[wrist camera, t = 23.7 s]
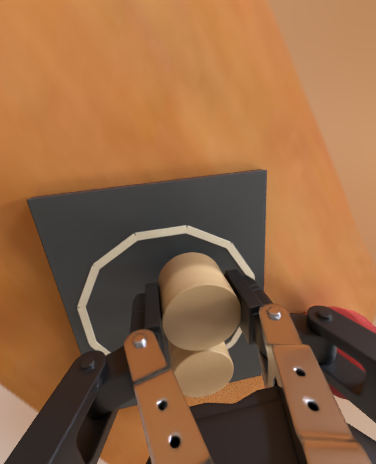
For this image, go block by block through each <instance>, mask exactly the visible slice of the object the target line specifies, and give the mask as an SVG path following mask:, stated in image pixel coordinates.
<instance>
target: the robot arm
mask: <svg viewBox="0 0 376 464" xmlns="http://www.w3.org/2000/svg"><path fill="white" fill-rule="evenodd" d="M224 276H225V278H226V280H227V281H228V283H229V285H230V286H231V288H232V289H233V291H234V293H235V294H236V296H237V298H238V299H239V302H240V306H241V318H240V322H239V324H238V325H239V327H240V329H241V330H242V332H243V334H244V336H245V338H246V340H247V342H248V344H249V345H253V344H256V345H257V347H258V357H259V362H260V366H261V371H262V376H263V381H264V385H265V389H261V390H257V391H255V392H254V393H252V394H250V395H249V396H247V397H245V398H243V399H242V400H240V401H238V402H237V403H234V404H224V403H203V404H199V405H195V406H191V407H189V406H188V404H187V401H186V399H185V397H184V395H183V392H182V390H181V388H180V386H179V383H178V381H177V379H176V377H175V374H174V372H173V370H172V368H171V366H168V365H167V353H166V342H165V334H164V332H163V327H162V320H161V308H160V297H159V286H158V282H154V283H149V284H145V293H142V294H137V295H136V297H135V298H134V300H133V305H132V316H131V326H130V334H129V335H128V336H127V338H126V339H125V342H124V345H123V346H122V347H121V348H119V349H117V350H116V351H114V352H111V353H109V354H107V355H105V354H104V353H103V352H102V351H99V350H93V351H89V352H86V353H84V354H83V355H81V356H80V357H79V358H77V359H76V360H75V362H74V363H73V364H72V366H71V367H70V369H69V370H68V372H67V373H66V374H65V376H64V377H63V379H62V380H61V382H60V383H59V385H58V386H57V387H56V389H55V390H54V392H53V393H52V395H51V396H50V398H49V399H48V400H47V402H46V403H45V405H44V406H43V408H42V409H41V411H40V412H39V414H38V415H37V417H36V418H35V419H34V421H33V422H32V424H31V425H30V427H29V428H28V429H27V431H26V432H25V434H24V435H23V437H22V438H21V440H20V441H19V442H18V444H17V445H16V447H15V448H14V450H13V451H12V453H11V454H10V456H9V457H8V459H7V460H6V461H5V463H4V464H97V462H98V459H99V457H100V454H101V452H102V449H103V447H104V445H105V442H106V440H107V437H108V435H109V432H110V430H111V427H112V425H113V422H114V420H115V417H116V415H117V412H118V410H119V407H120V406H122V405H123V404H125V403H127V402H129V401H130V400H132V399H134V398H135V397H136V400H137V404H138V408H139V412H140V417H141V421H142V425H143V429H144V433H145V437H146V442H147V446H148V450H149V454H150V456H149V458H148V460H147V462H146V464H376V441H375V440H373V439H371V438H370V437H368V436H366V435H365V434H363V433H362V432H360V431H359V430H357V429H356V428H354V427H353V426H351V425H350V424H348V423H346V421H345V419H344V416H343V414H342V412H341V410H340V408H339V406H338V404H337V402H336V400H335V398H334V396H333V393H332V391H331V389H330V387H329V385H328V383H329V384H330V385H331V386H333V387H334V388H335V389H336V390H337V391H338V392H340V393H341V394H342V395H343V396H344V397H346V398H347V399H348V400H349V401H350V402H352V403H353V404H354V405H355V406H356V407H357V408H359V409H360V410H361V411H362V412H363V413H365V414H366V415H367V416H368V417H369V418H370V419H372V420H373V421H374V422H375V423H376V333H374V332H372V331H370V330H369V329H367V328H365V327H363V326H362V325H360V324H358V323H356V322H354V321H353V320H351V319H349V318H347V317H345V316H344V315H342V314H340V313H338V312H337V311H335V310H333V309H331V308H328V307H325V306H313V307H310V308H309V309H308V311H307V315H303V314H290V313H289V312H288V311H287V310H286V309H285V308H284V307H282V306H280V305H276V304H273V303H272V301H271V300H270V299H269V298H268V296H267V295H266V294H265V293H264V291H263V290H261V288H260V286H259V285H258V284H257V283H256V281H255V280H254V279H253V278H251V277H249V276H247V275H244V276H242V275H241V274H240V272H239V271H238V270H237V269H230V270H225V271H224ZM337 348H339V349H340V350H342V351H343V352H345V353H346V354H348V355H349V356H350V357H352V358H353V359H355V360H356V361H358V362H359V363H360V364H361V365H362V366H363V368H364V369H365V372H364V371H363V370H362V369H360V368H359V367H357V366H356V365H354V364H353V363H352V362H350V361H349V360H347V359H346V358H345V357H343V356H342V355H340V354H339V353H337ZM327 382H328V383H327Z"/></svg>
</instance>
